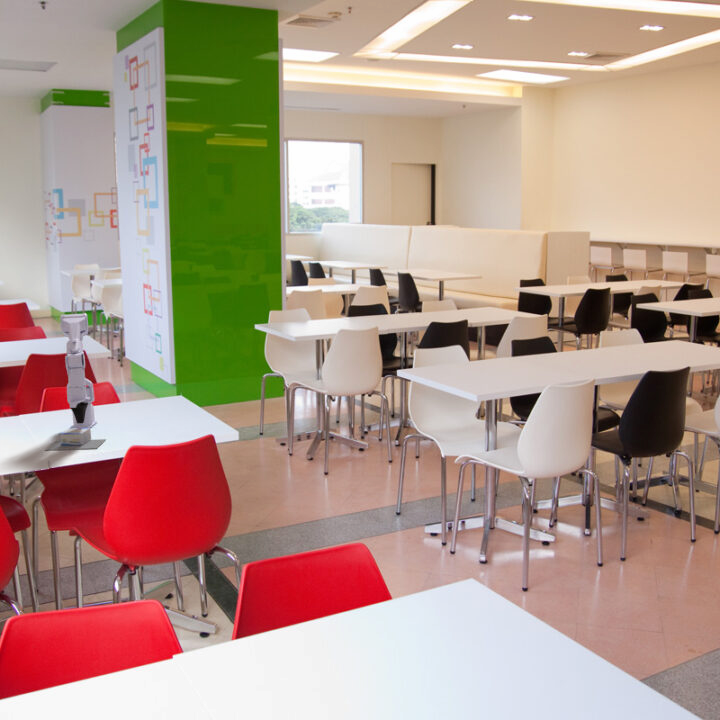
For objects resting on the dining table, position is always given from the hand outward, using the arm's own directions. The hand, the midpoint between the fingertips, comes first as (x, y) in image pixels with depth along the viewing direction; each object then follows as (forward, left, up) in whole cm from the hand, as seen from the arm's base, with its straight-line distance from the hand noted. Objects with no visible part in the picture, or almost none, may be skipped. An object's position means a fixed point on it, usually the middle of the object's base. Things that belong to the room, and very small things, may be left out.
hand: (80, 422), depth 303 cm
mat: (+7, 0, -6) cm, 10 cm away
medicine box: (0, 0, -4) cm, 4 cm away
